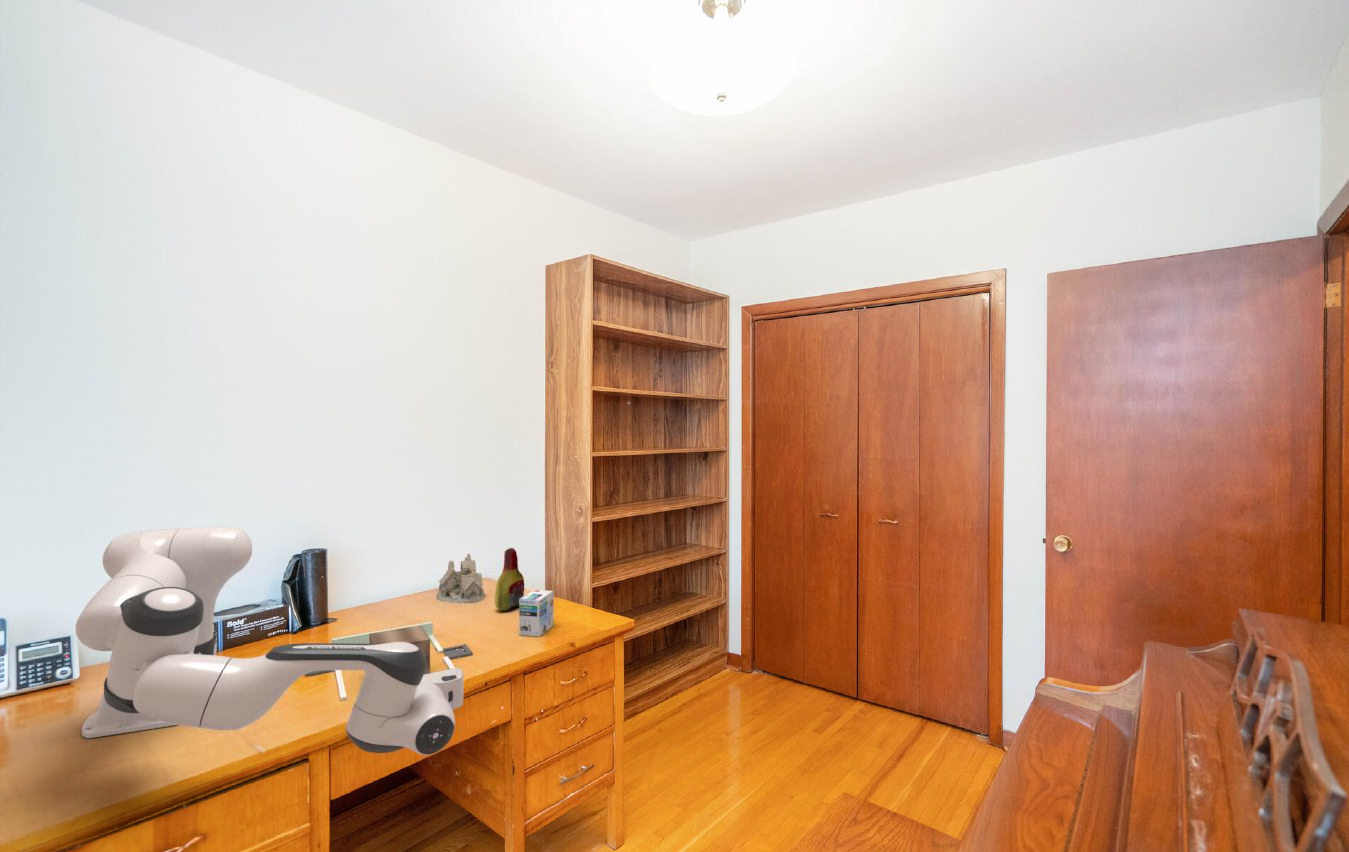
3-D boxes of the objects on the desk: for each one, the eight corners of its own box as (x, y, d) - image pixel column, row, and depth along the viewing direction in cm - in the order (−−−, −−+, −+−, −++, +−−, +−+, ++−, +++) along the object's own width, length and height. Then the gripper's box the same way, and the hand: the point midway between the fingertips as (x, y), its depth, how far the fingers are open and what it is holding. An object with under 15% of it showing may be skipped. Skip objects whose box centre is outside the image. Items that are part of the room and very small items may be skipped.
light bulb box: (539, 637, 173) (539, 600, 173) (518, 635, 174) (518, 598, 174) (554, 625, 183) (554, 590, 183) (534, 623, 184) (533, 588, 184)
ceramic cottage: (436, 593, 216) (438, 552, 216) (484, 591, 222) (485, 551, 221) (434, 608, 202) (436, 565, 201) (485, 605, 207) (487, 563, 206)
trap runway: (307, 707, 130) (307, 689, 130) (304, 658, 157) (304, 643, 157) (483, 668, 150) (483, 653, 150) (454, 631, 177) (454, 617, 177)
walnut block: (374, 692, 137) (374, 649, 137) (369, 673, 148) (369, 633, 148) (430, 680, 144) (429, 639, 144) (421, 663, 154) (421, 624, 154)
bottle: (516, 602, 206) (516, 544, 206) (530, 605, 203) (530, 546, 203) (490, 611, 196) (490, 550, 196) (504, 614, 193) (504, 553, 193)
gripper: (362, 731, 116) (355, 702, 127) (470, 704, 127) (455, 680, 139) (362, 698, 116) (355, 673, 127) (470, 674, 127) (455, 653, 138)
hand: (408, 676), depth 133 cm, fingers closed
